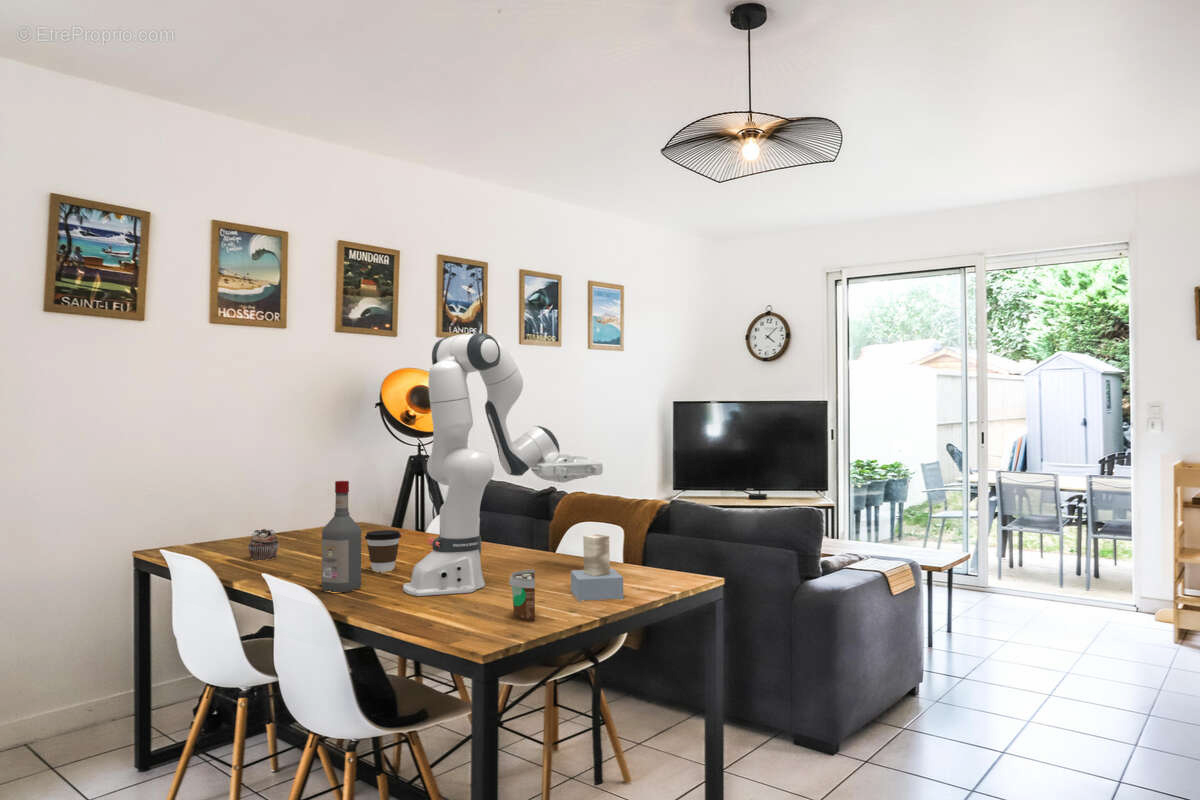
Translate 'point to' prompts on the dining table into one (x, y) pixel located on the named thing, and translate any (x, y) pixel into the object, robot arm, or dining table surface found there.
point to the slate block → (596, 585)
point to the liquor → (341, 547)
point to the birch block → (596, 555)
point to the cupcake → (263, 545)
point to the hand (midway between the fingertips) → (581, 470)
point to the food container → (523, 594)
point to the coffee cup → (383, 549)
